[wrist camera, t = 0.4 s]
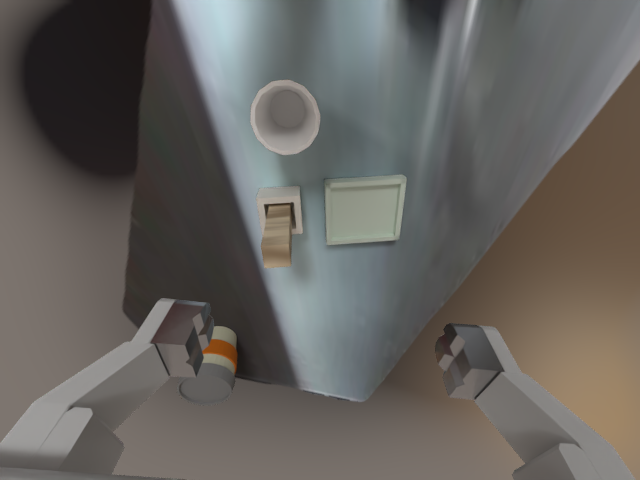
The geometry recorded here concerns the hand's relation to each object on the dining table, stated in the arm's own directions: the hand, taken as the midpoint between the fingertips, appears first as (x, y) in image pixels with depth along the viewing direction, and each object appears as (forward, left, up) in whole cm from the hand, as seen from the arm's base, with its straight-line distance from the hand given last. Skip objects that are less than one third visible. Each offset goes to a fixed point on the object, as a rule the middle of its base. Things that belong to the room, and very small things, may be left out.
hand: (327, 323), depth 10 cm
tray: (+18, +12, -47) cm, 52 cm away
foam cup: (-2, -2, -47) cm, 47 cm away
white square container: (+16, -5, -47) cm, 50 cm away
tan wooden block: (+16, -5, -46) cm, 49 cm away
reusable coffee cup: (+54, -26, -47) cm, 76 cm away
